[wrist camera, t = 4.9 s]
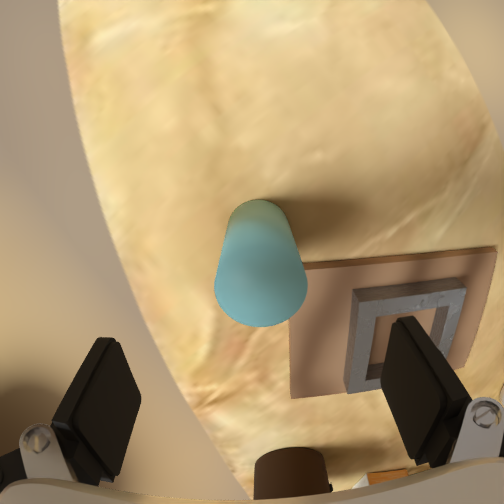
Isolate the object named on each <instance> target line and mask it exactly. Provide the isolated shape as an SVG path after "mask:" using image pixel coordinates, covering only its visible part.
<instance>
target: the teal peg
mask: <svg viewBox="0 0 504 504" xmlns="http://www.w3.org/2000/svg"><path fill="white" fill-rule="evenodd" d="M214 289H215V295H216V299H217V301H218V303H219V305H220V307H221V308H222V309H223V311H224V312H225V313H226V314H227V315H228V316H229V317H231V318H232V319H234V320H235V321H237V322H239V323H242V324H245V325H248V326H253V327H267V326H273V325H276V324H279V323H282V322H284V321H286V320H287V319H289V318H290V317H292V316H293V315H294V314H295V313H296V312H297V311H298V310H299V309H300V307H301V306H302V304H303V302H304V300H305V298H306V295H307V289H308V282H307V276H306V273H305V270H304V267H303V264H302V261H301V258H300V255H299V252H298V249H297V246H296V243H295V240H294V237H293V234H292V232H291V229H290V226H289V223H288V220H287V218H286V215H285V214H284V212H283V211H282V210H281V209H280V208H279V207H278V206H277V205H275V204H274V203H272V202H269V201H266V200H251V201H247V202H245V203H243V204H241V205H240V206H239V207H237V208H236V209H235V210H234V212H233V213H232V215H231V217H230V219H229V222H228V226H227V231H226V235H225V239H224V243H223V247H222V252H221V256H220V260H219V265H218V269H217V273H216V278H215V284H214Z"/></svg>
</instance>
